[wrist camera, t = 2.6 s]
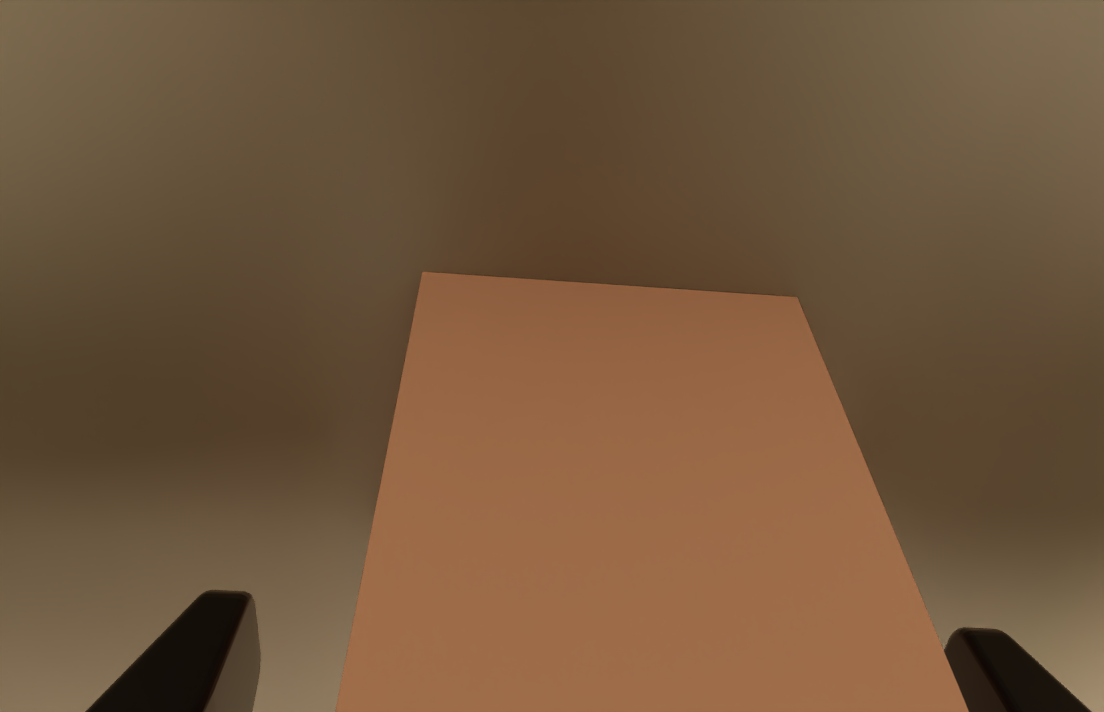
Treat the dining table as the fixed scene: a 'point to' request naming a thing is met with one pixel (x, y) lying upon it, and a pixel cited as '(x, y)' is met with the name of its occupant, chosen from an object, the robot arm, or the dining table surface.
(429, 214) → the dining table surface
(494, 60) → the dining table surface
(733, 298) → the peg
